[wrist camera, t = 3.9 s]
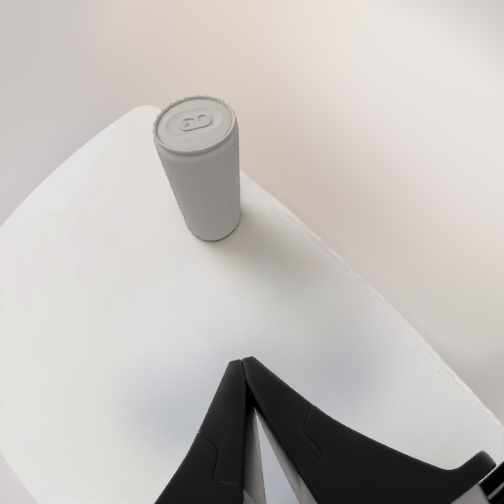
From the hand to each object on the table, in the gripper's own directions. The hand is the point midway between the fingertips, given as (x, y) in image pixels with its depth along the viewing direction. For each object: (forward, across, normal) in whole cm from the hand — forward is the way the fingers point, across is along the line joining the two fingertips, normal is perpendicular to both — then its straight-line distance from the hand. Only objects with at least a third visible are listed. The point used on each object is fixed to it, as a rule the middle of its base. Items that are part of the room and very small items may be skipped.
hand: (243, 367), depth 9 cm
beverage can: (+18, 0, -1) cm, 18 cm away
